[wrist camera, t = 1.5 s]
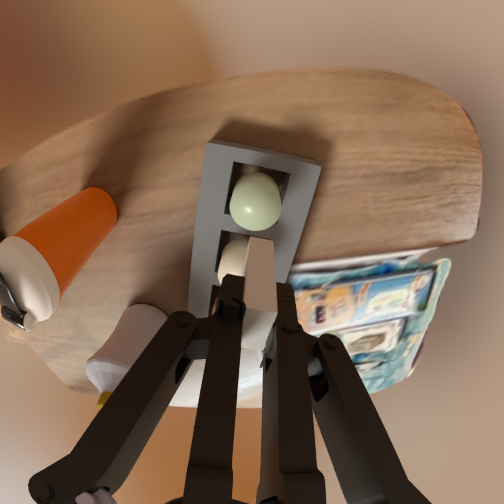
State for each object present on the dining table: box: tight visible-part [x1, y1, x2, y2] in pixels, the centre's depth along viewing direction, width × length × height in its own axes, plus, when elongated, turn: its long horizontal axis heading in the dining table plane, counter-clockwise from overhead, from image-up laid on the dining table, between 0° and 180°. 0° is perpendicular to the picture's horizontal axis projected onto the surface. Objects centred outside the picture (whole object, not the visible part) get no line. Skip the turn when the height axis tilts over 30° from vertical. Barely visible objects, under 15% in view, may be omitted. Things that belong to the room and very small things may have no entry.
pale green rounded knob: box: [230, 172, 282, 231], centre depth 27 cm, size 5×5×4 cm
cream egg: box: [218, 239, 249, 284], centre depth 31 cm, size 5×5×4 cm
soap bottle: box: [85, 304, 168, 410], centre depth 33 cm, size 13×13×25 cm
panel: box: [187, 139, 322, 318], centre depth 34 cm, size 12×25×3 cm, turn 168°
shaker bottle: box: [0, 187, 117, 331], centre depth 24 cm, size 9×9×20 cm
